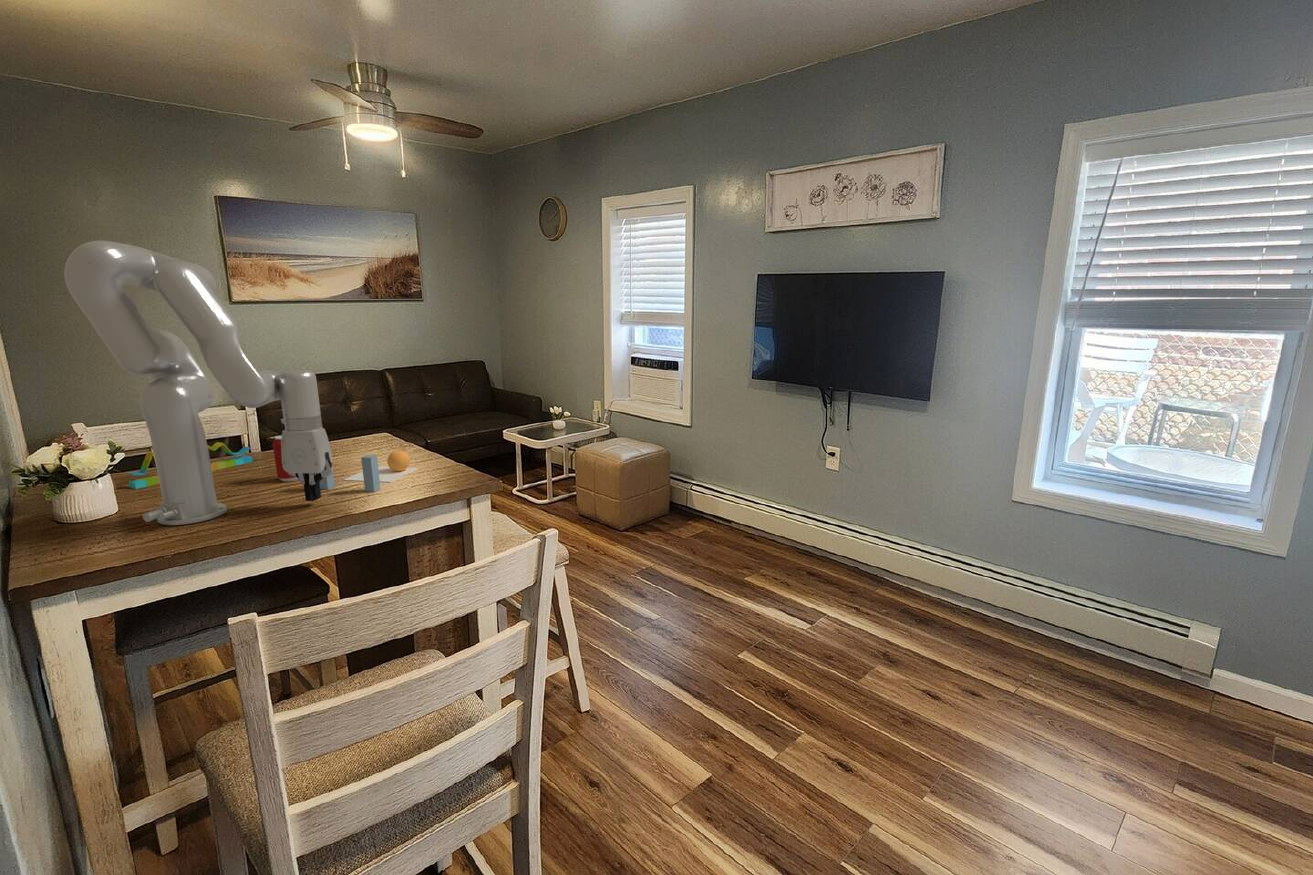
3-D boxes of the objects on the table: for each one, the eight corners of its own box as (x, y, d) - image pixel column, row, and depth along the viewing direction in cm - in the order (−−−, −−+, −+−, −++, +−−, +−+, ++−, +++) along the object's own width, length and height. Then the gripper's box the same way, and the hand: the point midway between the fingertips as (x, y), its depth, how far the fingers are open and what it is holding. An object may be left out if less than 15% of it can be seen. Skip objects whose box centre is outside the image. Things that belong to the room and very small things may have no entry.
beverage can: (295, 482, 164) (289, 439, 161) (272, 482, 164) (266, 439, 161) (309, 476, 170) (303, 434, 167) (287, 475, 170) (281, 434, 167)
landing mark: (390, 482, 163) (390, 481, 163) (343, 480, 165) (343, 479, 165) (418, 468, 177) (418, 468, 176) (374, 466, 179) (374, 466, 179)
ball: (416, 468, 176) (402, 473, 170) (398, 469, 178) (384, 474, 172) (412, 448, 175) (399, 452, 169) (395, 449, 177) (381, 453, 171)
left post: (328, 489, 157) (323, 455, 155) (319, 489, 157) (314, 455, 156) (334, 486, 160) (330, 453, 158) (326, 486, 160) (321, 453, 158)
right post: (374, 491, 155) (370, 457, 153) (365, 491, 155) (361, 457, 153) (380, 488, 157) (376, 455, 155) (371, 488, 158) (367, 454, 156)
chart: (246, 461, 187) (238, 413, 184) (252, 462, 186) (245, 414, 183) (129, 488, 160) (118, 433, 157) (136, 490, 159) (125, 433, 156)
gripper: (262, 426, 138) (273, 503, 142) (321, 427, 136) (331, 506, 140) (286, 419, 145) (297, 493, 149) (343, 421, 143) (352, 496, 147)
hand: (313, 499), depth 145 cm, fingers closed
